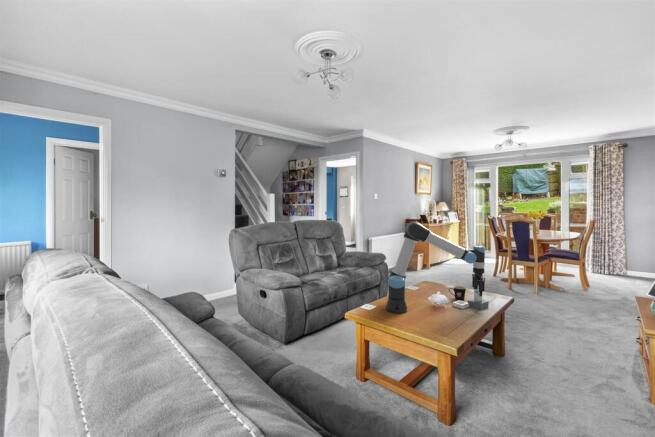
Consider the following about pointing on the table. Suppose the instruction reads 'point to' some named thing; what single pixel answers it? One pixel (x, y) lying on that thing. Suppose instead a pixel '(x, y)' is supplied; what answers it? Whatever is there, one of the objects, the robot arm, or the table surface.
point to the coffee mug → (459, 292)
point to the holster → (460, 304)
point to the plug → (476, 296)
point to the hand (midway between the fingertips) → (478, 299)
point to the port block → (478, 304)
